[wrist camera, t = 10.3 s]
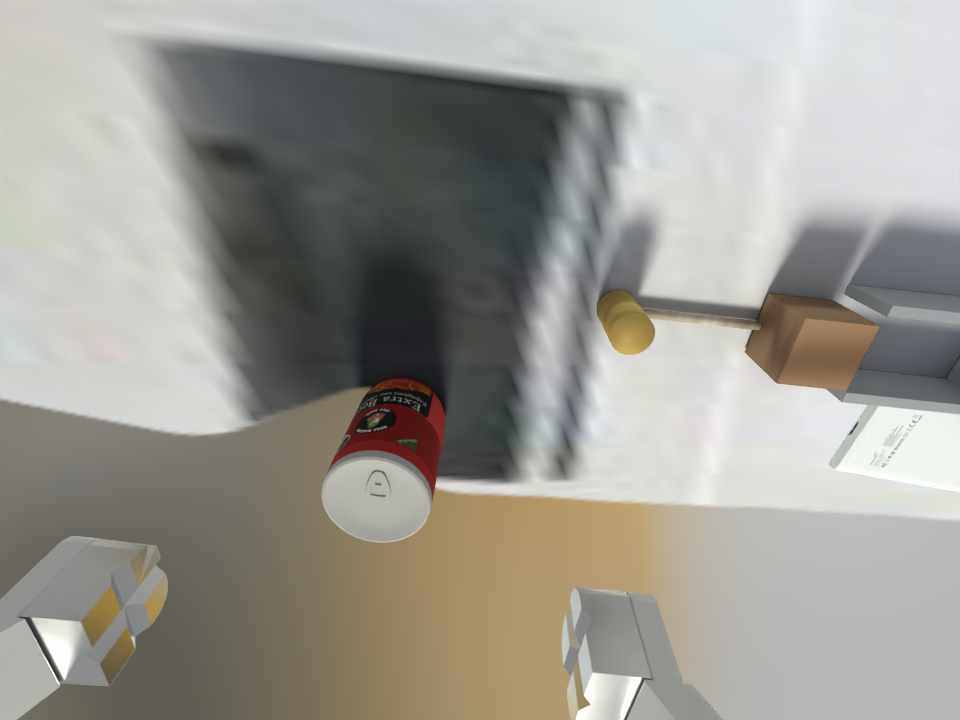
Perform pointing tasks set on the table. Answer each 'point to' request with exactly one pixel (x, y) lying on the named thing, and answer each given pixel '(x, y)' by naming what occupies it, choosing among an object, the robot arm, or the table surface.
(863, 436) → the external hard drive
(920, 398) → the lane
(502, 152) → the table surface
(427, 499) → the canned food
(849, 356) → the towed block
